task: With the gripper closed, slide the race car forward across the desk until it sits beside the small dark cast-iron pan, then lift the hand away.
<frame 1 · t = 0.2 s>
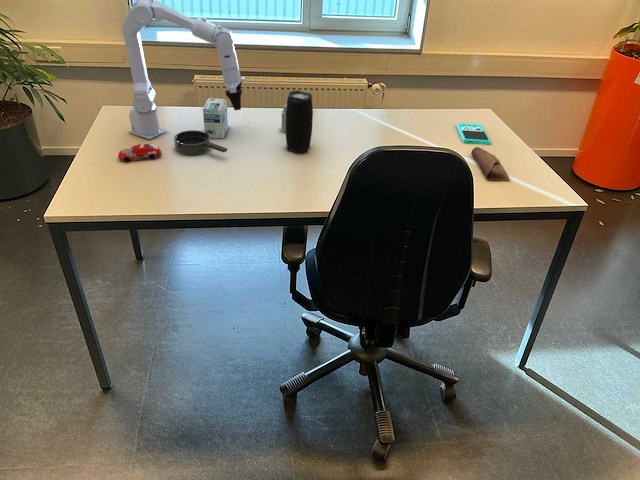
hand: (237, 105, 183), 11 cm above the table, tool pointing down, fingers open, 7 cm apart
handheld game console: (472, 135, 200), on the table
sunglasses case: (489, 168, 178), on the table
portable speaker: (298, 149, 182), on the table
power adapter: (288, 131, 194), on the table
pan: (192, 148, 177), on the table
light bulb box: (216, 132, 189), on the table
race car: (140, 157, 170), on the table
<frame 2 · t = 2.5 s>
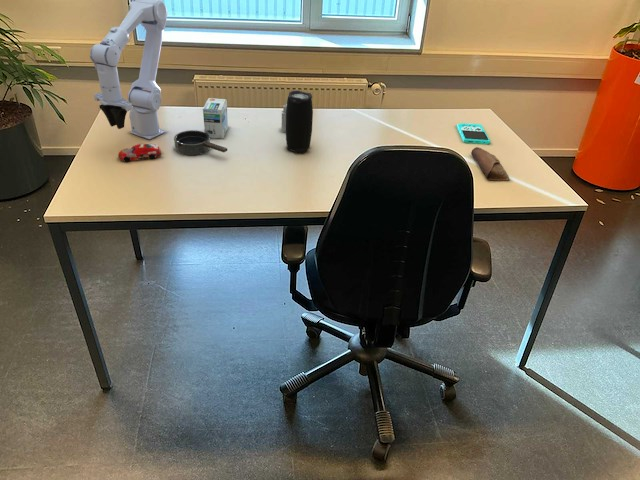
hand: (117, 126, 168), 8 cm above the table, tool pointing down, fingers open, 3 cm apart
nothing on the table moved.
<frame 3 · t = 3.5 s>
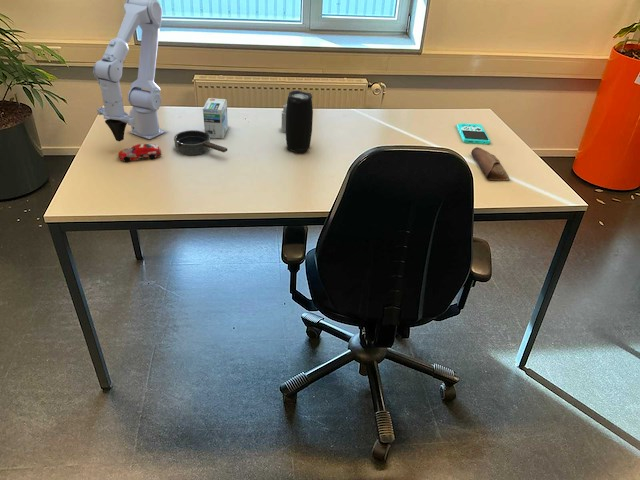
hand: (119, 140, 171), 4 cm above the table, tool pointing down, fingers closed
nothing on the table moved.
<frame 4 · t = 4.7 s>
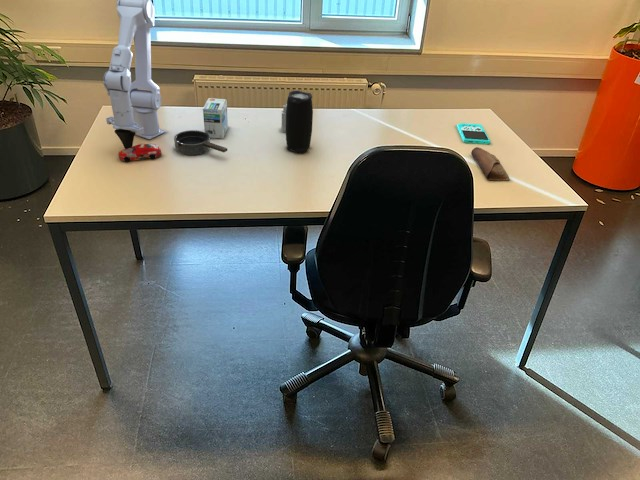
hand: (128, 149, 171), 1 cm above the table, tool pointing down, fingers closed
race car: (140, 157, 170), on the table, touching gripper
everything else where it was.
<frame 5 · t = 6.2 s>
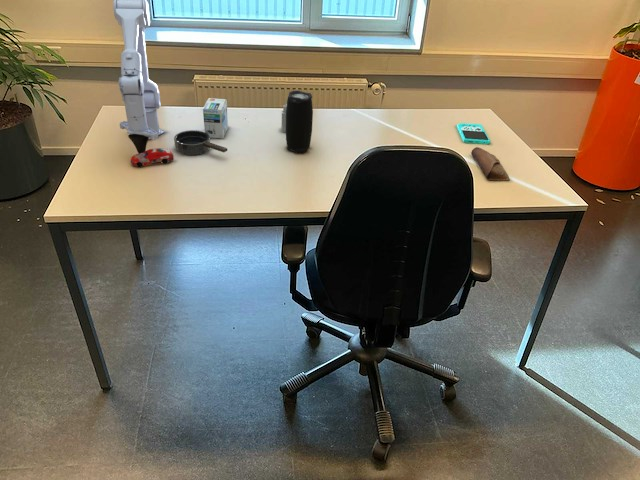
hand: (142, 154, 169), 1 cm above the table, tool pointing down, fingers closed
race car: (152, 162, 168), on the table, touching gripper
everything else where it was.
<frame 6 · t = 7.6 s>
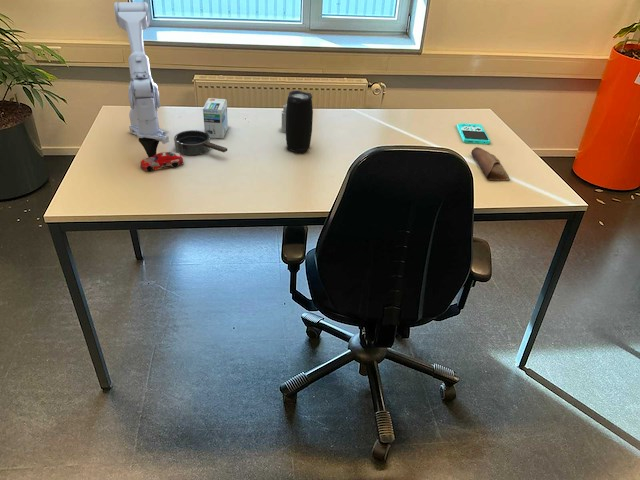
hand: (152, 158, 167), 1 cm above the table, tool pointing down, fingers closed
race car: (162, 166, 166), on the table, touching gripper
everything else where it was.
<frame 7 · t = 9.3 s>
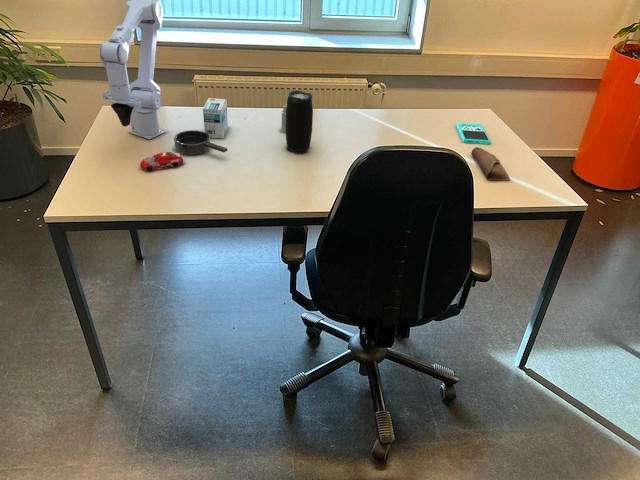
hand: (126, 125, 167), 9 cm above the table, tool pointing down, fingers closed
race car: (162, 166, 166), on the table
everything else where it was.
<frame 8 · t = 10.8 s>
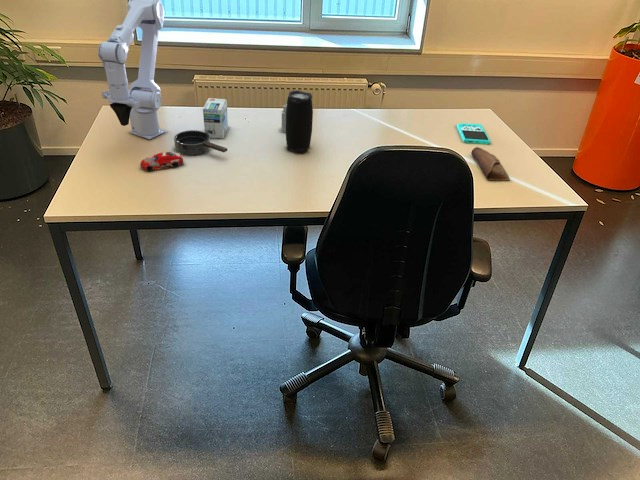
hand: (124, 124, 168), 9 cm above the table, tool pointing down, fingers closed
nothing on the table moved.
at the end: race car inside the target area (0.5 cm from its centre), on the table; race car 15.3 cm from the pan (horizontally); race car tilted 0° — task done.
